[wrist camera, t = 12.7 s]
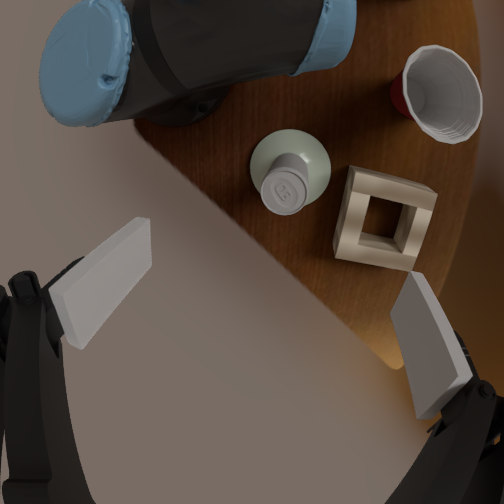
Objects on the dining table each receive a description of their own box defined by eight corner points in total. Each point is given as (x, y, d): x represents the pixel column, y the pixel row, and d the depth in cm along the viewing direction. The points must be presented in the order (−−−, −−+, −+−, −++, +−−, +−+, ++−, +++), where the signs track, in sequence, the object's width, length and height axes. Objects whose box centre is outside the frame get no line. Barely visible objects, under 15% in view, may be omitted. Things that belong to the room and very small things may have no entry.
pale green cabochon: (255, 124, 35) (254, 124, 35) (336, 137, 34) (337, 137, 34) (247, 198, 41) (246, 200, 40) (322, 211, 40) (322, 213, 39)
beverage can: (284, 192, 38) (276, 225, 28) (265, 163, 37) (249, 185, 26) (314, 175, 36) (318, 201, 26) (295, 145, 35) (291, 158, 25)
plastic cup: (433, 144, 32) (476, 159, 21) (366, 120, 32) (393, 123, 22) (446, 78, 26) (491, 72, 16) (379, 50, 27) (408, 28, 17)
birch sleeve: (349, 165, 36) (355, 172, 31) (423, 184, 35) (437, 194, 30) (332, 242, 42) (335, 257, 37) (401, 255, 40) (411, 271, 36)
